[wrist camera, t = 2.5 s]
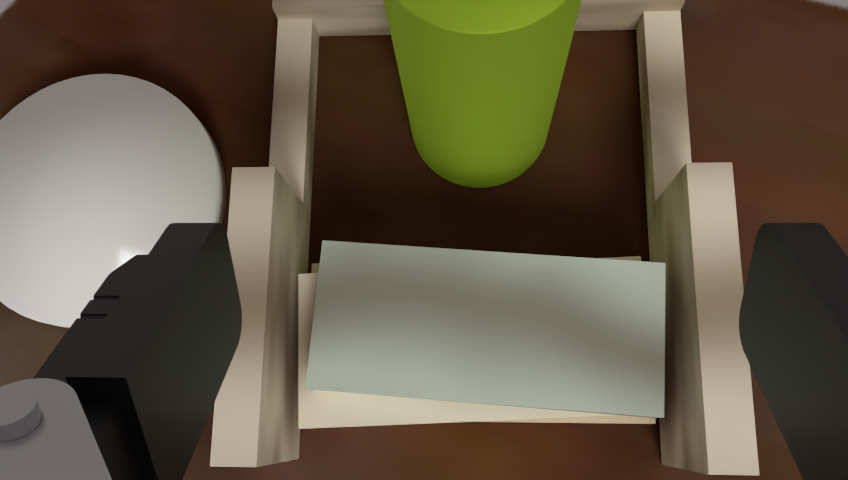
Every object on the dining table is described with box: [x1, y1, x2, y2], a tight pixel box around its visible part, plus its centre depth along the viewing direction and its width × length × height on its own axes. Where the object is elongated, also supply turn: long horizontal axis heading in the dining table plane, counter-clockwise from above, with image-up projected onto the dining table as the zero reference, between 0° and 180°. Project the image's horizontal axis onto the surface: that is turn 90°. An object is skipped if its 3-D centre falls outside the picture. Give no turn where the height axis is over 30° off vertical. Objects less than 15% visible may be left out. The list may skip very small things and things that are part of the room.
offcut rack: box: [210, 0, 759, 475], centre depth 29 cm, size 20×17×6 cm
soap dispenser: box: [384, 0, 582, 188], centre depth 23 cm, size 6×7×20 cm
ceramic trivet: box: [0, 74, 227, 328], centre depth 32 cm, size 11×11×1 cm
